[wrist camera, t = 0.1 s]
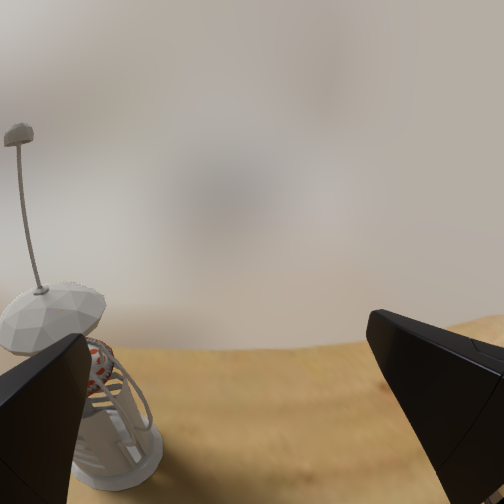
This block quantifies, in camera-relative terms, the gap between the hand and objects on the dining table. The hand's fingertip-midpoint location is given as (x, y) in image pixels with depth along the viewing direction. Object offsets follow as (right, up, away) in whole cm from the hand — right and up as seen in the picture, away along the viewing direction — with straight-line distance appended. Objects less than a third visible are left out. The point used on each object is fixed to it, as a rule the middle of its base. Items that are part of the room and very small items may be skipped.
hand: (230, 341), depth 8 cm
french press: (-11, -14, +10) cm, 21 cm away
